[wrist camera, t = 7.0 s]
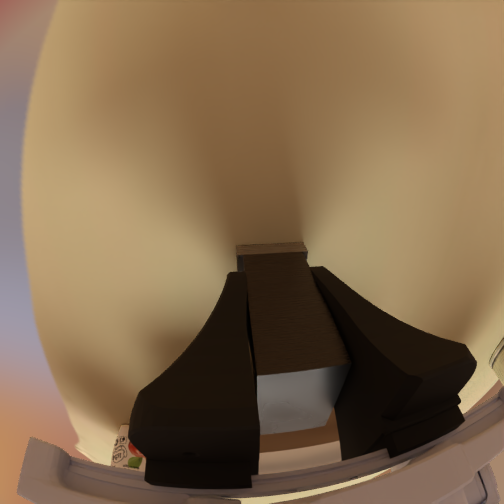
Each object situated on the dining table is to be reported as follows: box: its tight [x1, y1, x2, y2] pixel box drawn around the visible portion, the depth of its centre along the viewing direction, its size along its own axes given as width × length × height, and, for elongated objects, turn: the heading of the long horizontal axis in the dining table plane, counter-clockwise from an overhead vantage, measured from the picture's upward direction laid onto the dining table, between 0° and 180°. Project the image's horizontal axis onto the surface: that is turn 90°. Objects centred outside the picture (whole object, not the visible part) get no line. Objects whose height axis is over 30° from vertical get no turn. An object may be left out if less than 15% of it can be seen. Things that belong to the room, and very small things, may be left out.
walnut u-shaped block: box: [259, 407, 342, 475], centre depth 16 cm, size 8×12×6 cm
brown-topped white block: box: [236, 242, 352, 435], centre depth 13 cm, size 15×3×7 cm, turn 1°
